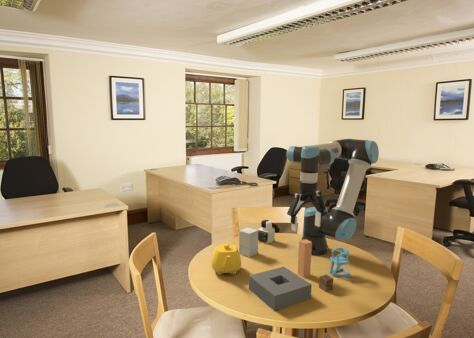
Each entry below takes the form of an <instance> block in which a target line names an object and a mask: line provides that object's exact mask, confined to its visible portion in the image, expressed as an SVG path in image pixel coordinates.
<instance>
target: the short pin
mask: <svg viewBox="0 0 474 338" xmlns="http://www.w3.org/2000/svg"><path fill="white" fill-rule="evenodd" d="M318 278H319V281H318V288H319V289H321V290H323V292H325V293H326V292H329V291H333V290H334V277H333V276H330V275H328V274H324V275H320V276H319V277H318Z"/></svg>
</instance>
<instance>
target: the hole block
mask: <svg viewBox="0 0 474 338" xmlns="http://www.w3.org/2000/svg"><path fill="white" fill-rule="evenodd" d="M248 290H249V291H251V292H252V293H253V294H254V295H255V296H256V297H257V298H259V299H260V300H261V301H262V302H263V303H264V304H265V305H267V306H268V307H269V308H270V309H271V310H273V311H277V310H280V309H283V308H287V307H290V306H292V305H296V304H298V303H301V302H304V301H307V300H310V299H312V284H311V283H310V282H308V281H307V280H306V279H304V278H303V277H302V276H300V275H299V274H296V273H295V272H293V271H291V270H290V269H289V268H287V267H285V266H280V267H277V268H273V269H269V270H265V271H262V272H257V273H253V274H250V275H248Z"/></svg>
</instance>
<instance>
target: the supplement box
mask: <svg viewBox="0 0 474 338" xmlns="http://www.w3.org/2000/svg"><path fill="white" fill-rule="evenodd" d="M238 231H239V234H238V235H239V236H238V246H239V247H238V252H239V254H240V255H242V256H246V257H248V258H251V257H253V256H255V255H257V254H258V253H259V241H258V229H255V228H251V227H248V226H247V227H245V228H242V229H240V230H238Z"/></svg>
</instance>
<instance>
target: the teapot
mask: <svg viewBox="0 0 474 338" xmlns="http://www.w3.org/2000/svg"><path fill="white" fill-rule="evenodd" d="M210 262H211V267H212V270H213V271H214V272H216V275H217V276H222V275H223V274H231V275H233V276H234V275H237V272H238V271H239V270H240V269H241V267H242V259H241V254H239V248H237V246H236V245H234V244H229V243H223V244H219V245H216V247H215V248H214V251H213V253H212V257H211V261H210Z"/></svg>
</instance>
